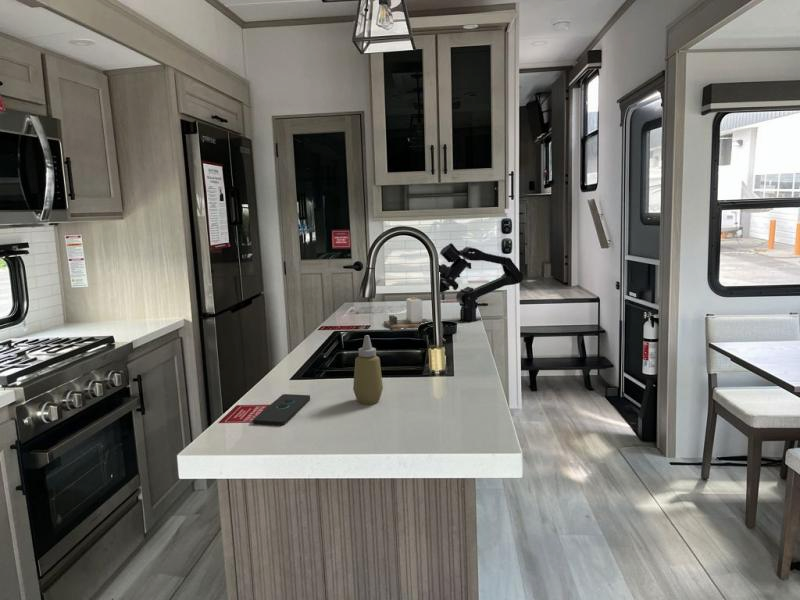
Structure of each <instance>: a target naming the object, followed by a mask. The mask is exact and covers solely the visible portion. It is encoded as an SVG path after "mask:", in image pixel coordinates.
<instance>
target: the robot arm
mask: <svg viewBox="0 0 800 600" xmlns="http://www.w3.org/2000/svg"><path fill="white" fill-rule="evenodd" d="M439 254H440V255H441V257H443V258H444V259H445V260H446V261H447V263H451V264H450V265H449V266H447V264H445V263H442V264H438V265H439V272H440V273H439V272H438V273H439V274H440V292H441V293H440V294H442V293H445V292H447V291H450V290H451V288H450V287H452V290H453V291H456V290H457V289H459V290H460V291H458V292H456V297H455V299H456V301H457V302H458V303H459V306H460V312H459V317H460V318H459V319H458V321H460V322H468V323H473V322H476V321H478V320H479V318H477V309H478V306H479V303H478V302H477V300H478V299H479V298H481V297H482V296H484V295H488V294H489V293H492V292H493V291H496V290H499V289H501V288H503V287H505V286H511V285H512V286H513V285H517V284H521V283H522V282H523V279H524V275H523V273H522V271H520V270H519V267H517V265H516V264H515V263H514V262H513V260H512V258H511V257H508V256H501V255H498V254H497V255H496V254H492V253H488V252H485V251H482V250H481V249H478V248H475V247H470V246H466V247H464V248H463V249H461V250H458V249H457V248H456V247H455V245H454V244H453V243H451V242H450V243H449V244H448V245H446V246H445V247H443V248H442V249H441V250H440V252H439ZM469 261H475V262H477V261H479V262H480V261H483V262H487V263H488V262H489V263H495V264H498V265H501V267H502V270H503V274H502V275H501V276H500V277H497V278H496V279H493V280H491V281H489V282H487V283H484V284H481V285H480V286H478V287H475V288H474V287H471V286H466V287H464V288H462V289H461V288H459V283H458V281H456V279H458V278H460V277H461V274H462V272H464V270H465V269H469V270H471V269H472V263H471V262H469Z"/></svg>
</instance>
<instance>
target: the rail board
mask: <svg viewBox="0 0 800 600" xmlns="http://www.w3.org/2000/svg"><path fill="white" fill-rule="evenodd" d="M422 321H423V323H425V322H430V321H429V319H427V318H422ZM385 324H386V325H385ZM420 324H421V323H411V321H410V320H406V319H398V316H396V315H393V314H390V315H388V320H384V321H383V325H385V326H387V327H388V326H389V327H388V328H389V329H391V328H392V329H391V330H393V329H397V330H402V329H401V328H410V329H418V328H417V327H418V326H419V325H420Z"/></svg>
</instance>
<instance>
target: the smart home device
mask: <svg viewBox="0 0 800 600" xmlns="http://www.w3.org/2000/svg"><path fill="white" fill-rule="evenodd" d="M310 401H311V395H310V394H295V393H293V394H291V393H283V394H281V395H280V396H278V398H277V399H275V400H274V401H273V402H272V403H270V404H269V405H268V406H267V407H266V408H265V409H263V410H262V411H261V412H260V413H258V414H257V415H256V416H255V417H254V418H253V419H252V420H253V423H252V424H253V425H255V426H256V425H258V426H276V427H284V426H285V425H286V424H288V423H289V421H290V420H292V419H293V418H295V416H296V415H297V414H298V413H299V412H300V411H301V410H302V409H303V408H304V407H305V406H306V405H307V404H308V403H309V402H310Z"/></svg>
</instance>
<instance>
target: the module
mask: <svg viewBox="0 0 800 600" xmlns="http://www.w3.org/2000/svg"><path fill="white" fill-rule="evenodd" d="M405 300H406V302H405V303H406V306H405V307H406V318H405V320H410V321H411V323H423V321H422V319H423V299H420V298H418V297H415V296H410V297H409V298H406V299H405Z"/></svg>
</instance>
